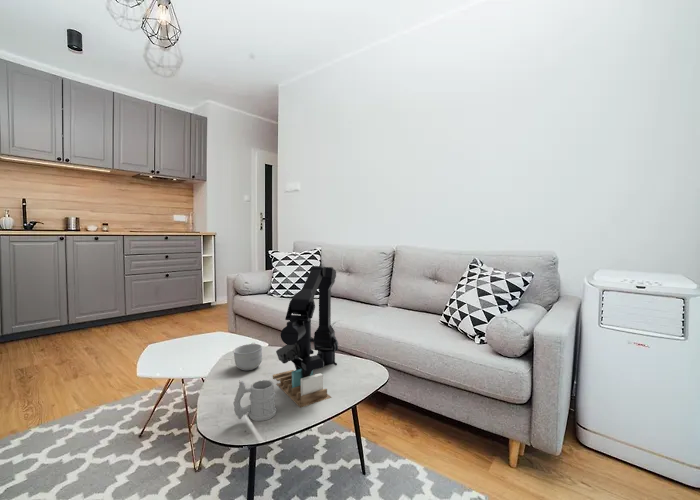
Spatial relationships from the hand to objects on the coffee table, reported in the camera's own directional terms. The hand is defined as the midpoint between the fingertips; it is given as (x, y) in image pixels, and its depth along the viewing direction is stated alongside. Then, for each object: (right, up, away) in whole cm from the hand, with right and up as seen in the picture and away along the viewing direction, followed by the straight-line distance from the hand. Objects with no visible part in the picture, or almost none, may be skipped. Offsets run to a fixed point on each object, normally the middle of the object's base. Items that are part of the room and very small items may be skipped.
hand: (302, 381), depth 112 cm
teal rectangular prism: (0, -3, 0) cm, 3 cm away
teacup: (-24, -3, +24) cm, 34 cm away
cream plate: (+4, -3, -5) cm, 7 cm away
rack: (0, -4, 0) cm, 4 cm away
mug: (-12, -5, -15) cm, 20 cm away
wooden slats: (-8, -4, +12) cm, 15 cm away
